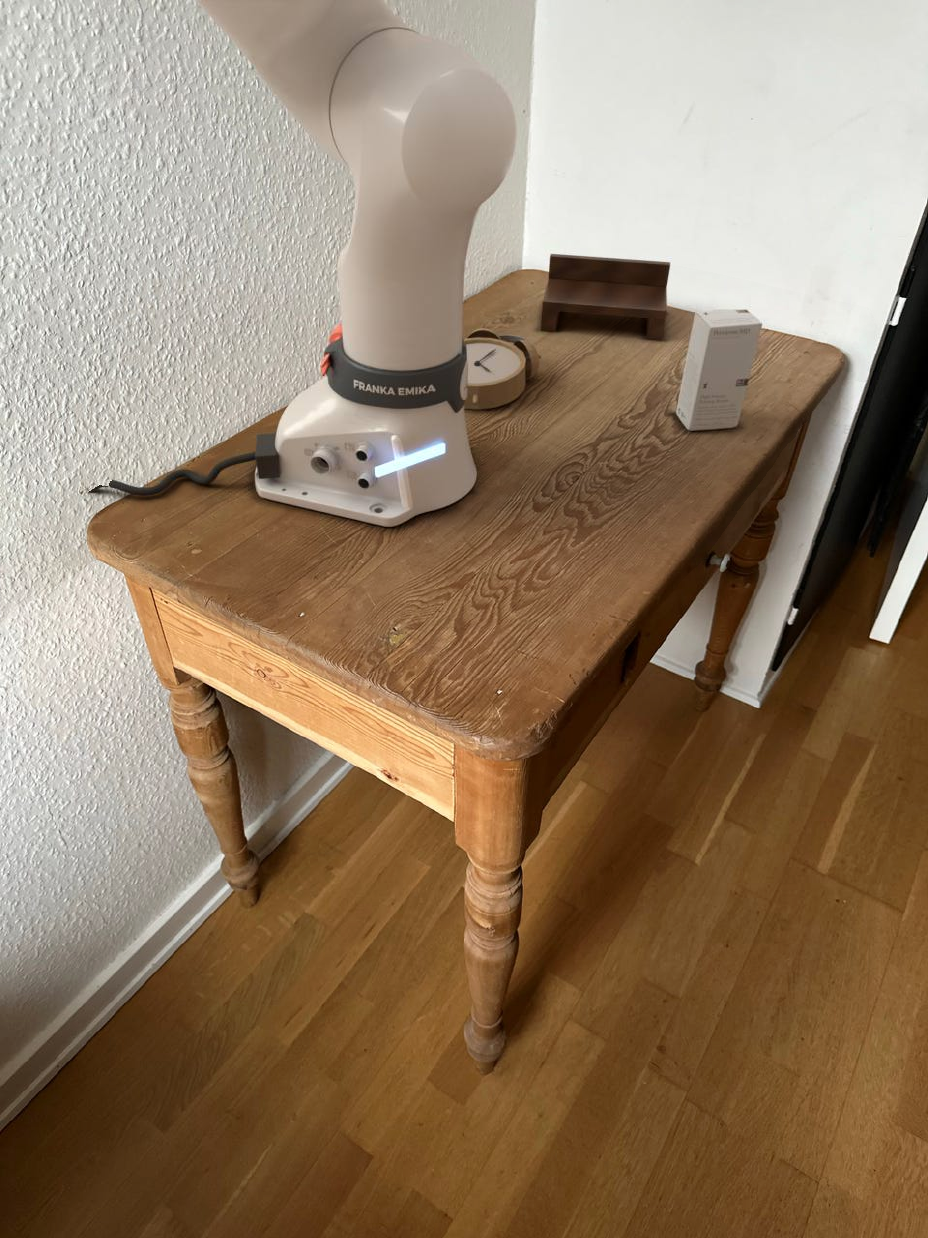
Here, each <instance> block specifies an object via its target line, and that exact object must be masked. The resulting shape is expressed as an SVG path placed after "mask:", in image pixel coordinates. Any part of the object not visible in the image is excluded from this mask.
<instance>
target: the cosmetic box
mask: <svg viewBox="0 0 928 1238" xmlns="http://www.w3.org/2000/svg"><path fill="white" fill-rule="evenodd" d="M762 327H763V322H762V321H760V320H759V318H758V317H756V316H755V315H754V314H752V312H750V311H749V310H748V309H747V308H738V309H735V308H734V309H727V308H726V309H724V308H723V309H714V310H697V311H696V312H695V313H694V318H693V323H692V328H691V333H690V337H689V342H688V348H687V353H686V358H685V365H684V369H683V373H682V380H681V384H680V390H679V394H678V400H677V404H676V410H675V414H676V416H677V417H678V419H679V420H680V422H681V423H682V424H683V426H684V427H685V429H687V431H689V432H690V431H691V432H692V431H708V430H720V429H731V428H735V427H737V426H738V425H739V421H740V417H741V413H742V409H743V405H744V401H745V397H746V393H747V389H748V385H749V381H750V376H751V372H752V369H753V365H754V360H755V355H756V351H757V348H758V343H759V340H760V335H761V331H762Z"/></svg>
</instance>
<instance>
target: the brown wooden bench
mask: <svg viewBox="0 0 928 1238" xmlns="http://www.w3.org/2000/svg"><path fill="white" fill-rule="evenodd" d="M548 264H549V267H548V278H547V282H546V287H545V291H544V295H543V299H542V305H541V318H540V319H541V320H540V331H542V332H556V331H557V327H558V322H559V317H560V312H561V313H562V312H566V313H575V314H576V313H577V314H590V315H601V316H613V317H614V316H615V317H616V316H617V317H627V318H628V317H629V318H639V319H646V340H654V341H663V337H664V331H665V325H666V318H667V313H668V299H667V297H668V295H667V294H668V290H667V287H668V282H669V276H670V271H671V262H670V261H659V260H658V261H657V260H646V259H645V260H644V259H629V258H616V257H602V256H587V255H572V254H560V253H550V255H549V263H548Z"/></svg>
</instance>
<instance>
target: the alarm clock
mask: <svg viewBox="0 0 928 1238" xmlns="http://www.w3.org/2000/svg"><path fill="white" fill-rule="evenodd" d="M463 339H464V341H465V343H466V346H467V360H468V389H467V398H466V401H465V404H464V410H478V411H479V410H488V409H494V408H498V407H501V406H504V405H508V404H509V403H511V402H513V401H514V400H516V399H517V398H519V397H520V395H522V393H523V392H524V391H525V387H526V381H528V380H531V379H532V378H533V377H535V376H536V374H537V373H538V372H539V371H538V370H539V368H540V359H541V358H542V355H541V354H540V353H538V351H537V349H536V346H535V345H534V343H533V342H532V341H531V340H530V339H528V338H526V337H524V336H521V335H516V334H508V333H507V334H506V333H504V334H498V333H497V332H496V331H495V330H493V329H490V328H486V327H481V328H476V329H474V330H473V331H471V332H470V333H469V334H468V335H467V338H463Z"/></svg>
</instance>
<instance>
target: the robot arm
mask: <svg viewBox="0 0 928 1238" xmlns="http://www.w3.org/2000/svg"><path fill="white" fill-rule="evenodd" d="M194 1H195V2H196V4H198V6H199V7H200V8H201V9H202V10H203V11H204V12H205V13H206V14H207V16H209V17H210V18H211V20H212V21H213V22H214V23H215V24H216V26H218V27H219V28H220V29H221V30H222V32H224V34H225V35H226V36H227V37H228V38H229V39H230V40H231V41H232V42H233V44H234V45H235V46H236V47H237V49H238V50H239V51H240V52H241V53H242V54H243V56H244V57H245V58H246V59H247V61H248V62H249V63H250V64H251V66H252V67H253V68H254V70H255V71H256V73H257V74H258V75H259V76H260V78H261V79H262V80H263V81H264V83H265V84H266V85H267V87H268V88H269V89H270V90H271V92H273V94H274V95H275V97H276V98H277V99H278V100H279V101H280V103H281V104H282V106H284V108H285V109H286V110H287V111H288V112H289V113H290V114H291V116H292V117H293V118H294V120H296V122H297V123H298V125H300V126H301V128H302V129H303V130H304V131H305V132H306V133H307V135H308V136H309V137H310V138H311V139H312V140H313V142H315V144H316V145H317V146H318V147H319V148H320V149H321V150H322V151H323V152H324V153H325V154H326V155H327V156H329V157H330V158H331V159H333V160H334V161H336V162H337V163H338V164H340V165H342V166H343V167H345V168H346V169H348V170H350V173H351V176H352V180H353V185H354V198H355V199H354V207H353V208H354V209H353V215H352V222H351V228H350V232H349V233H350V234H349V239H348V242H347V243H346V245H345V246H344V247H343V249H341V252H340V254H339V255H338V259H337V266H336V268H337V269H336V270H337V280H338V281H337V282H338V294H339V295H338V296H339V307H340V309H339V310H340V321H341V324H338V325H336V326H335V328H334V329H333V330H332V333H331V334H330V335H329V338H328V342H329V344H328V345H327V346H326V347H325V349H324V351H323V359H322V360H321V362H320V368H321V377H322V378H320V379H319V380H318V381H316V382H315V383H313V384H312V385H310V386H309V387H307V388H306V389H304V390H303V391H301V392H300V393H299V394H297V395H296V396H295V397H294V398H293V399H292V400H291V402H290V403H289V404H288V405H287V407H286V408H285V410H284V412H283V413H282V415H281V417H280V420H279V422H278V425H277V427H276V428H277V429H276V432H271V433H257V434H256V439H255V441H256V442H255V451H251V452H248V453H243V454H238V455H235V456H231V457H229V458H226V459H223V460H221V461H220V462H218V463H217V464H215V465H214V466H213V467H212V469H211V470H210V471H209V473H208V474H207V475H204V476H203V475H201V474H198V472H195V471H193V470H190V469H185V468H182V469H177V470H174V471H172V472H170V473H169V474H167V475H166V476H165V477H164V478H163V479H162V480H161V481H159V482H158V483H157V484H155V485H153V486H147V487H139V486H134V485H130V484H127V483H124V482H121V481H119V480H115V479H112V481H110V483H109V486H110V487H108V486H102V485H99V486H97V487H95V488H94V489H92V490H91V491H89V492H88V493H87V494H94V493H96V492H97V491H98V490H100V489H102V488H110V489H115V490H118V491H120V492H122V493H123V492H124V493H127V494H130V495H133V496H140V497H149V496H154V495H157V494H160V493H162V492H163V491H165V490H166V489H167V488H168V487H169V486H171V484H172V483H173V482H174V481H176V480H178V479H181V478H187V479H189V480H192V481H193V482H195V483H197V484H200V485H203V486H204V485H210V484H212V483H213V482H215V480H216V479H217V478H218V477H219V475H220V473H222V471H224V470H226V469H228V468H231V467H232V466H233V467H234V466H237V465H241V464H245V463H249V462H254V461H255V463H256V467H255V472H254V485H255V490H256V492H257V494H258V496H259V497H260V498H262V499H266V500H270V501H273V502H277V503H278V502H279V503H283V504H286V505H291V506H296V507H300V508H303V509H307V510H313V511H317V512H322V513H325V514H329V515H334V516H338V517H343V518H347V519H350V520H351V519H352V520H356V521H359V522H363V523H368V524H372V525H375V526H380V527H386V528H387V527H388V528H390V527H391V528H392V527H397V526H399V525H401V524H403V523H405V522H407V521H409V520H411V519H412V518H414V517H415V516H419V515H420V514H424V513H427V512H431V511H436V510H440V509H442V508H445V507H447V506H450V505H452V504H454V503H456V502H457V501H459V500H461V499H462V498H463V497H465V496H466V495H467V494H468V493H470V491H471V490H472V489H473V487H474V486H475V483H476V482H477V477H478V472H477V471H478V470H477V467H476V464H475V461H474V458H473V455H472V450H471V446H470V440H469V435H468V430H467V421H466V412H465V409H464V404H465V401H466V398H467V389H468V360H467V346H466V343H465V341H464V339H465V338H463V328H464V327H463V325H464V324H463V321H464V291H465V290H464V289H465V288H464V287H465V269H466V260H467V254H468V249H469V244H470V241H471V237H472V233H473V230H474V227H475V223H476V220H477V217H478V214H479V212H480V209H481V207H482V205H483V204H484V203H485V202H486V201H487V200H489V199H490V198H491V197H492V196H493V195H494V194H495V192H496V191H497V190H498V189H499V188H500V186H502V183H503V182H504V180H505V179H506V177H507V176H508V173H509V170H510V169H511V166H512V163H513V159H514V155H515V153H516V152H515V151H516V147H517V146H516V145H517V134H518V133H517V132H518V131H517V130H518V129H517V120H516V114H515V110H514V107H513V104H512V102H511V99H510V97H509V95H508V94H507V92H506V90H505V89H504V87H503V86H502V85H501V84H500V83H499V81H498V80H497V79H496V78H495V77H494V76H493V75H492V74H491V73H490V72H489V71H488V70H487V69H486V68H485V67H484V66H483V65H481V64H480V62H479V61H477V60H476V59H475V58H474V57H473V56H472V55H471V54H470V53H468V52H466V51H465V50H463V49H462V48H460V47H458V46H455V45H452V44H450V43H447V42H444V41H442V40H439V39H435V38H433V37H430V36H427V35H425V34H422V33H420V32H418V31H416V30H415V29H413V28H412V27H410V26H409V25H408V24H407V23H405V22H404V21H402V19H400V18H399V17H398V15H396V14H395V13H394V12H393V10H391V8H390V7H389V6H388V5H387V4H386V2H385V1H384V0H194Z"/></svg>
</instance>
